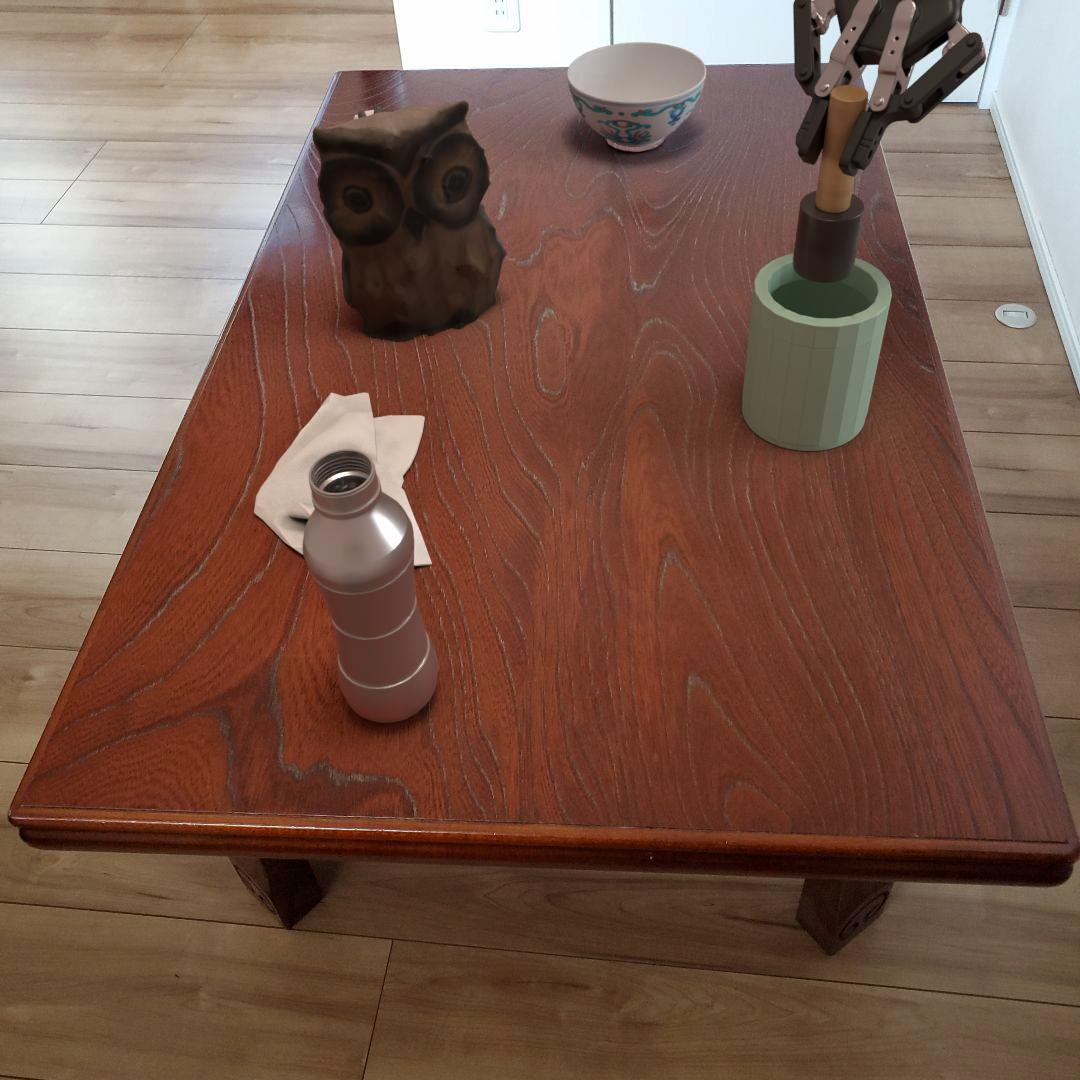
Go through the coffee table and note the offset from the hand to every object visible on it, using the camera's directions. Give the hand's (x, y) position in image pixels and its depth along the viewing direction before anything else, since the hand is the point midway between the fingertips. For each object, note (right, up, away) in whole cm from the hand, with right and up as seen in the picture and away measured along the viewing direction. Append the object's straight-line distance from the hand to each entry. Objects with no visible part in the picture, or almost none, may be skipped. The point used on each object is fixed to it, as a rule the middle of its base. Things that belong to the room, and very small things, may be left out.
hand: (826, 164), depth 74 cm
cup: (+3, -14, +18) cm, 23 cm away
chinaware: (-8, +21, +51) cm, 56 cm away
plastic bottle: (-29, -35, 0) cm, 46 cm away
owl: (-30, -3, +32) cm, 44 cm away
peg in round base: (+2, -5, +7) cm, 9 cm away
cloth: (-34, -22, +13) cm, 43 cm away
